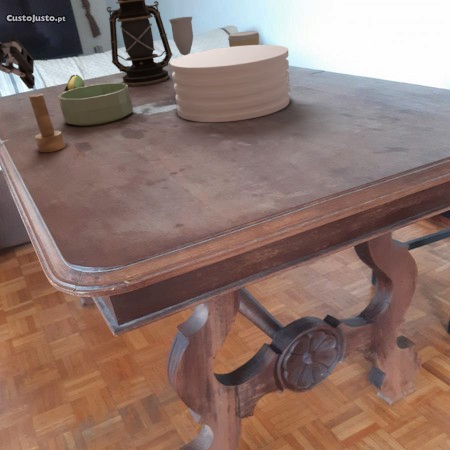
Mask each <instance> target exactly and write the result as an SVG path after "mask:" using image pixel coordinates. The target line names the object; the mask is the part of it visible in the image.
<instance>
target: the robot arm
mask: <svg viewBox="0 0 450 450" xmlns="http://www.w3.org/2000/svg"><path fill="white" fill-rule="evenodd" d="M4 59H5V64H4V63H3V61H4ZM34 61H35V59H34V58H33V56H32V55H31V54H30V52H28V50H27V49H26V48H25V47H24V45H23V44H22V43H21V42H20V40H19V39H18V38H17V37H14V36H12V37H10V38H9V42H4V43H2V42H1V41H0V71H1V72H2V73H4V74H8V75H9V74H14V75H16V76H17V77H19V79H20V80H21V81H22V82H23V84H24V85H25V86H26V88H27V89H28V90H31V89H32V90H33V89H34V88H35V87H34V86H35V84H36V83H35V82H36V81H35V79H36V78H35V75H34V71H35V69H34V67H35V66H34V65H35V64H34V63H35V62H34ZM14 65H15V66H14ZM16 66H17V67H16Z"/></svg>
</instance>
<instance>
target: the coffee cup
mask: <svg viewBox="0 0 450 450" xmlns="http://www.w3.org/2000/svg"><path fill="white" fill-rule="evenodd" d="M227 40H228V47H235V46H247V45H260V33H259V31H258V30H249V31H248V30H246V31H240V32H233V33H230V34H229V35H228V37H227Z"/></svg>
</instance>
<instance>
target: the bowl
mask: <svg viewBox="0 0 450 450" xmlns="http://www.w3.org/2000/svg"><path fill="white" fill-rule="evenodd" d="M129 87H130V86H128V85H127V84H125V83H123V82H103V83H95V84H89V85H84V86H83V87H79V88H75V89H71V90H68V91H63V92H60V93H59V94H58V95H57V99H58V103H59V105H60V110H61V113H62V117H63V120H64V122H65V123H66V124H69V125H72V126H73V125H74V126H79V127H83V126H84V127H85V126H86V127H87V126H96V125H97V126H98V125H105V124H108V123H112V122H116V121H119V120H121V119H123V118H125V117H127V116H128V115H130V114H131V113H133V112H134V107H133V102H132V98H131V93H130V92H131V91H130V88H129Z"/></svg>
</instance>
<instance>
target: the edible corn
mask: <svg viewBox="0 0 450 450" xmlns="http://www.w3.org/2000/svg"><path fill="white" fill-rule="evenodd" d="M83 86H86V84H85V81H84V79H83V78H82V77H81V76H80V75H79V74H72V75H71V76H70V77H69V79H68V81H67V84H66V86H65V88H64V91H63V92H65V91H68V90H71V89H75V88H79V87H83Z"/></svg>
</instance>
